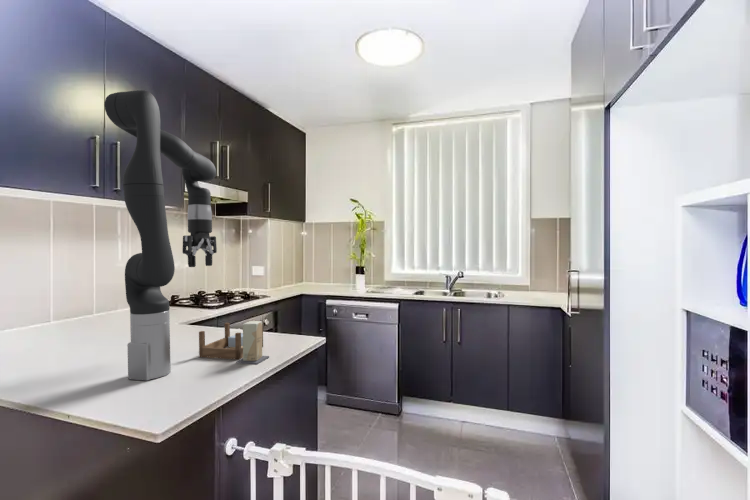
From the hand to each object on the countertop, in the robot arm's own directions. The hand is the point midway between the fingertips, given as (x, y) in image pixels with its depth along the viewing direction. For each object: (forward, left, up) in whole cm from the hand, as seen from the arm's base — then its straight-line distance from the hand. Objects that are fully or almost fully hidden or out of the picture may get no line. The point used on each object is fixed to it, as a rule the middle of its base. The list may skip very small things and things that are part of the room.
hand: (200, 266), depth 129 cm
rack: (-2, -13, -28) cm, 31 cm away
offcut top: (-3, -16, -25) cm, 30 cm away
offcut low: (-3, -16, -28) cm, 33 cm away
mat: (-9, -24, -28) cm, 38 cm away
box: (-9, -24, -28) cm, 38 cm away
